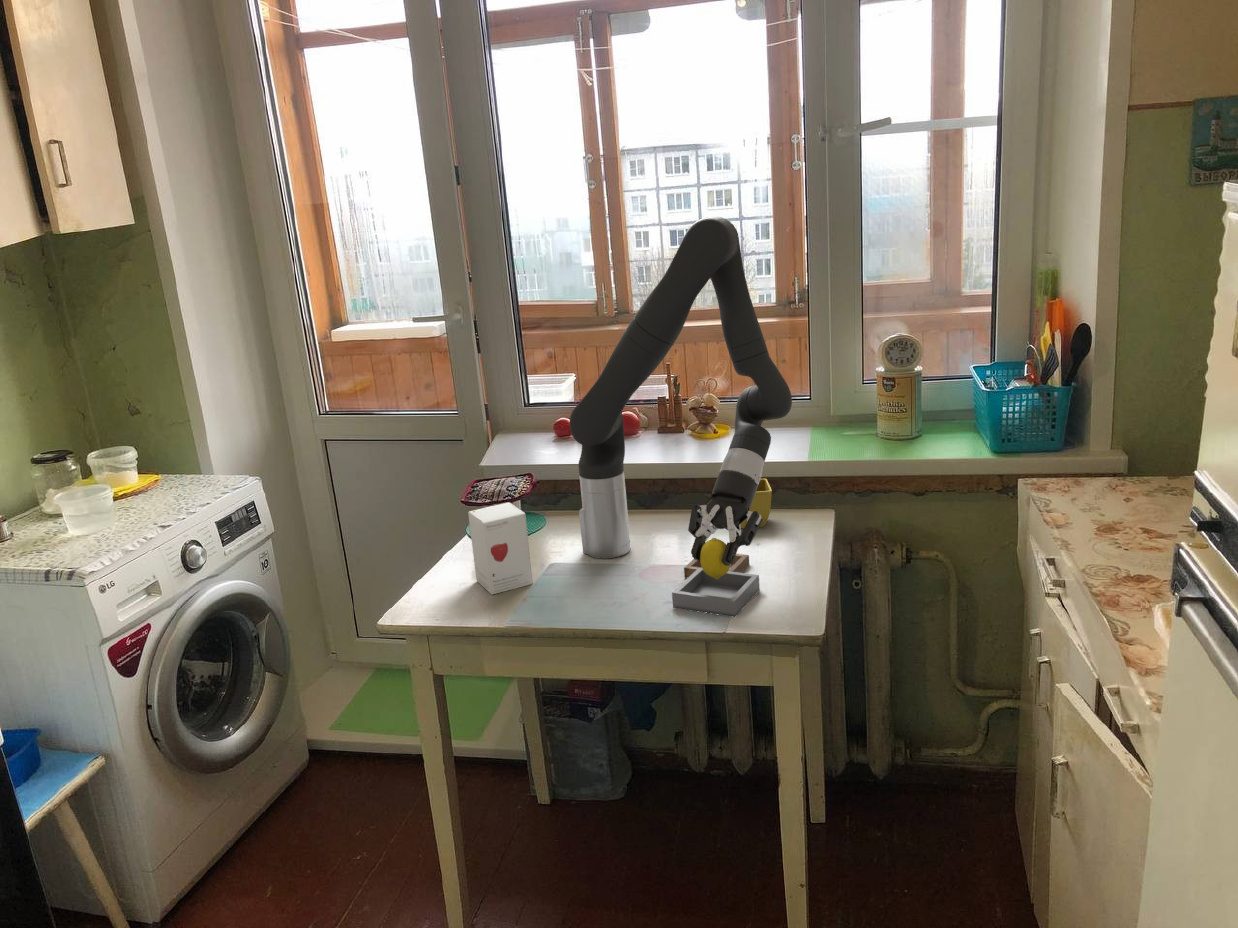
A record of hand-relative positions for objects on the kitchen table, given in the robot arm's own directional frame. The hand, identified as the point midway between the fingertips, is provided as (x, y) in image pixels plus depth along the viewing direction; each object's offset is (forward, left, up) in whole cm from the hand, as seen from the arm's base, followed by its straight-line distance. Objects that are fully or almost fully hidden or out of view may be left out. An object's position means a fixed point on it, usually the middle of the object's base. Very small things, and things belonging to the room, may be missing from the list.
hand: (710, 561), depth 172 cm
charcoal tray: (0, +2, -8) cm, 8 cm away
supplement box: (-43, -4, -8) cm, 44 cm away
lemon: (0, +2, -4) cm, 5 cm away
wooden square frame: (-5, +14, -8) cm, 17 cm away
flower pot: (-8, +40, -8) cm, 41 cm away
